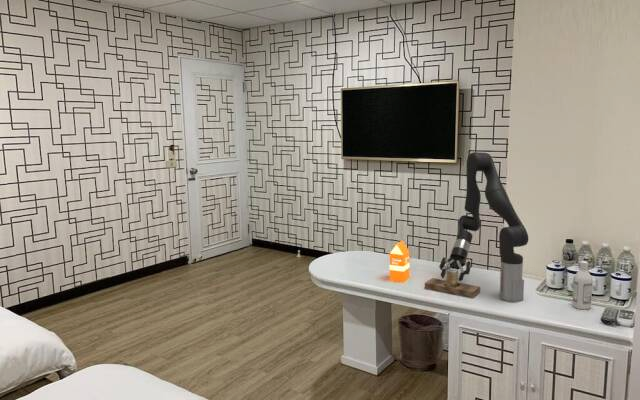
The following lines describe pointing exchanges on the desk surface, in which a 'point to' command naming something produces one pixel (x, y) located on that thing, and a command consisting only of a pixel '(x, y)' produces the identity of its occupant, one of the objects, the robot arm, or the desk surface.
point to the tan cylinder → (452, 278)
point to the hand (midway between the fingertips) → (450, 279)
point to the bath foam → (582, 287)
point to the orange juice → (399, 263)
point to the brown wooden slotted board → (452, 288)
